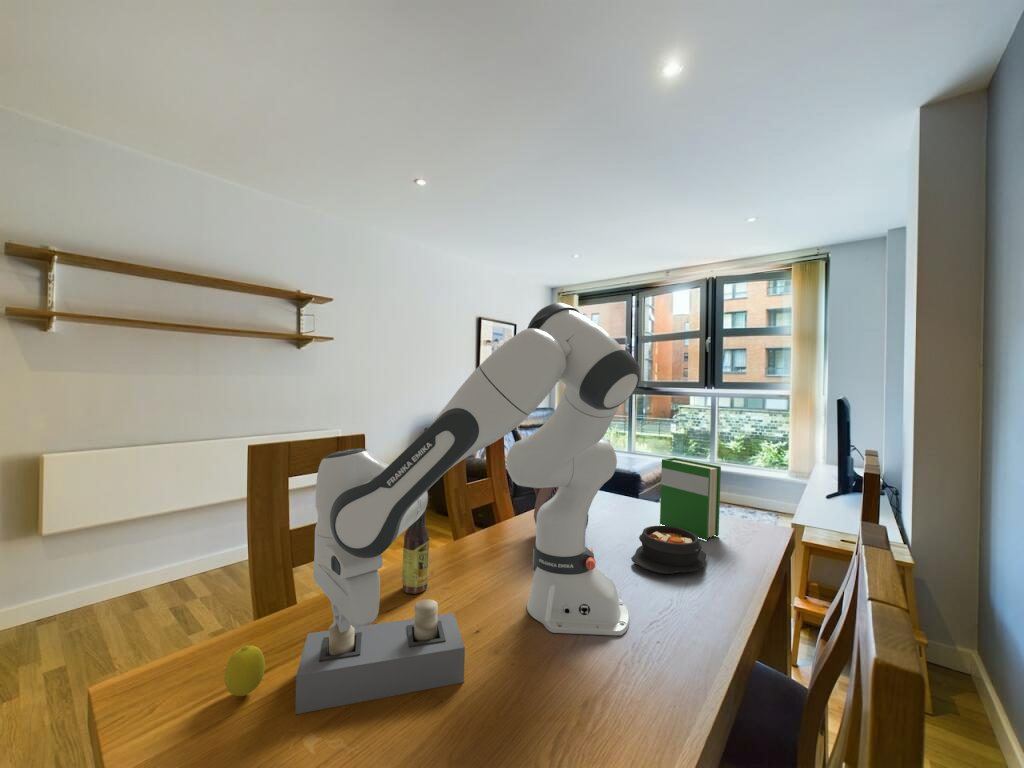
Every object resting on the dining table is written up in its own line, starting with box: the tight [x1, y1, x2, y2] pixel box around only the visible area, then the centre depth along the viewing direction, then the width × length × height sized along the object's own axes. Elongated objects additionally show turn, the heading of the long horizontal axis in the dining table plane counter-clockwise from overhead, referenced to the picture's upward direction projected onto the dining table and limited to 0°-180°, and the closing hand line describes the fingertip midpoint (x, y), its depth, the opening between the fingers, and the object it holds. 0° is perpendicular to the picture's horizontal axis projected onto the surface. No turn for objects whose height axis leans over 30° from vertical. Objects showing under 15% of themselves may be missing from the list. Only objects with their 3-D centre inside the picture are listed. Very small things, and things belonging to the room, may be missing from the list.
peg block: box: [295, 612, 466, 715], centre depth 74 cm, size 26×11×6 cm, turn 107°
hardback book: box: [659, 457, 722, 541], centre depth 148 cm, size 18×7×24 cm, turn 36°
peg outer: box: [328, 622, 354, 656], centre depth 72 cm, size 4×4×6 cm
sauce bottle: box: [401, 509, 431, 595], centre depth 104 cm, size 6×6×20 cm
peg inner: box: [414, 598, 439, 642], centre depth 76 cm, size 4×4×6 cm
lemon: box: [224, 644, 266, 697], centre depth 69 cm, size 6×6×8 cm
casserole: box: [630, 525, 707, 575], centre depth 122 cm, size 25×19×8 cm
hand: (341, 627), depth 72 cm, fingers closed, pressing on peg outer
